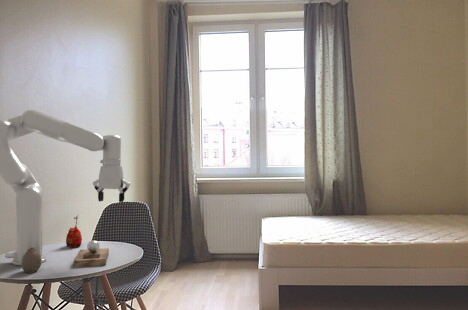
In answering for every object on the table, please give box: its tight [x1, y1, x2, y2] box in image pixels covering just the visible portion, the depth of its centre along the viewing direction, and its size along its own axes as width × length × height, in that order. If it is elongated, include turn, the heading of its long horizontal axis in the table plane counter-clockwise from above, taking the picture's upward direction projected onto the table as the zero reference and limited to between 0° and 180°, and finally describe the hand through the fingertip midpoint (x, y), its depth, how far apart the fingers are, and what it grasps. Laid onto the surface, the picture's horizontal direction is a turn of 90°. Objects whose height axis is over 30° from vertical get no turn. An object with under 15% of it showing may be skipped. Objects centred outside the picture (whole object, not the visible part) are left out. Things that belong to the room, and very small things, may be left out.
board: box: [73, 247, 110, 268], centre depth 170 cm, size 12×18×2 cm, turn 14°
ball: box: [86, 239, 100, 252], centre depth 173 cm, size 5×5×5 cm
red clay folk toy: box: [65, 215, 83, 249], centre depth 193 cm, size 8×7×15 cm
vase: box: [20, 248, 42, 273], centre depth 154 cm, size 7×7×9 cm
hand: (111, 201), depth 179 cm, fingers open, 9 cm apart
